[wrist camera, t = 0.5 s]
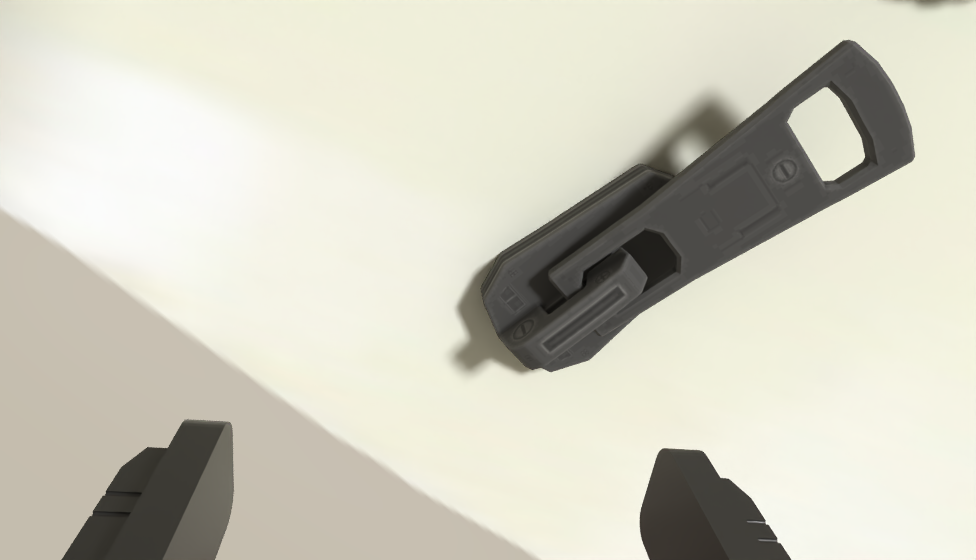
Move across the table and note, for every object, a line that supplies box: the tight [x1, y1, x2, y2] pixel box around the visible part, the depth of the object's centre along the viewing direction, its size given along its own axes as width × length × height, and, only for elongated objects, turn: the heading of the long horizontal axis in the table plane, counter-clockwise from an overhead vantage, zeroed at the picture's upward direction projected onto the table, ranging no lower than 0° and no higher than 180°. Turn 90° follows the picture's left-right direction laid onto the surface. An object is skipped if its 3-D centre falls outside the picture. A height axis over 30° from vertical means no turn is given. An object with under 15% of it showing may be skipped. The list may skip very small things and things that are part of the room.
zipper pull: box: [481, 40, 915, 372], centre depth 37 cm, size 9×7×25 cm
